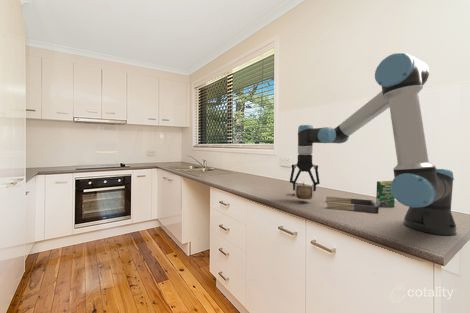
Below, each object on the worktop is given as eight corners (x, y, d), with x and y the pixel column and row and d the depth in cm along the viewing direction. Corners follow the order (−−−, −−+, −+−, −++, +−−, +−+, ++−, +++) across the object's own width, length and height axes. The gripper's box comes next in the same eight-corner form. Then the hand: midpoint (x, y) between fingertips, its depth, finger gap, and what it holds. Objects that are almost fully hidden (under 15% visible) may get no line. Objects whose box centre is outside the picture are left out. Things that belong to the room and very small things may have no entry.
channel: (378, 213, 102) (378, 207, 102) (326, 208, 110) (327, 202, 110) (372, 206, 115) (372, 200, 114) (326, 201, 122) (326, 196, 122)
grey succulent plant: (303, 202, 135) (310, 191, 129) (290, 196, 136) (296, 185, 130) (305, 192, 142) (312, 181, 136) (292, 187, 143) (298, 176, 137)
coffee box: (378, 207, 112) (380, 181, 112) (375, 205, 115) (376, 180, 114) (394, 207, 112) (396, 181, 112) (390, 205, 115) (392, 180, 114)
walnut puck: (312, 199, 116) (312, 188, 115) (296, 198, 118) (296, 187, 117) (311, 196, 123) (311, 185, 123) (296, 195, 125) (296, 185, 125)
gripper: (325, 154, 119) (324, 196, 120) (286, 153, 126) (285, 193, 127) (326, 154, 112) (325, 199, 113) (284, 154, 119) (283, 196, 120)
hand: (304, 196), depth 120 cm, fingers closed on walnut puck, 8 cm apart
